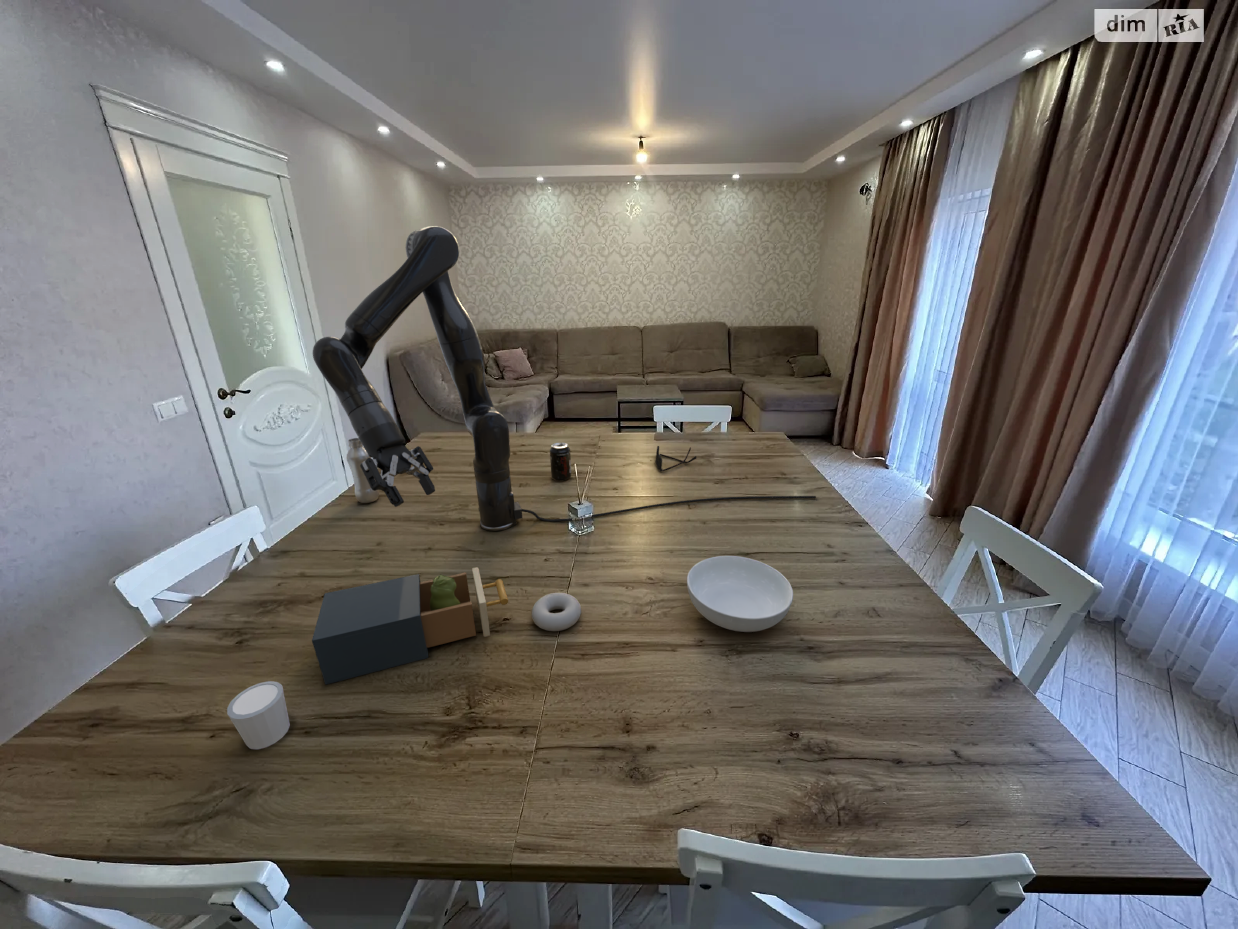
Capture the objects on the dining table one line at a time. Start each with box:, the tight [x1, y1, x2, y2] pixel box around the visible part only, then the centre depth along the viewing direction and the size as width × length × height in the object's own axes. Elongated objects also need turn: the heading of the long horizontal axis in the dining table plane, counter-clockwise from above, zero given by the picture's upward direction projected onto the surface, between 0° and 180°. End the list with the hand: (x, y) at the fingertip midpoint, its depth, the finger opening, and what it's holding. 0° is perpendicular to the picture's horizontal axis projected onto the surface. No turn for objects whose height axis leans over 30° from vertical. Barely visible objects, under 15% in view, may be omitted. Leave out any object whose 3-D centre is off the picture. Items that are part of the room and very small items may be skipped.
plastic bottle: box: [345, 437, 380, 504], centre depth 146 cm, size 6×7×20 cm
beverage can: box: [549, 442, 572, 482], centre depth 162 cm, size 7×7×12 cm
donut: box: [531, 592, 582, 632], centre depth 98 cm, size 10×4×10 cm
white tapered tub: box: [226, 680, 291, 750], centre depth 73 cm, size 7×7×7 cm
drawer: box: [420, 566, 509, 649], centre depth 94 cm, size 20×12×8 cm, turn 112°
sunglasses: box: [654, 445, 697, 472], centre depth 176 cm, size 17×14×5 cm
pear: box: [430, 574, 460, 611], centre depth 93 cm, size 6×5×10 cm
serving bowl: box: [686, 555, 794, 633], centre depth 99 cm, size 21×21×7 cm
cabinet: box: [311, 573, 429, 686], centre depth 90 cm, size 17×14×10 cm
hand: (416, 498), depth 98 cm, fingers open, 8 cm apart
